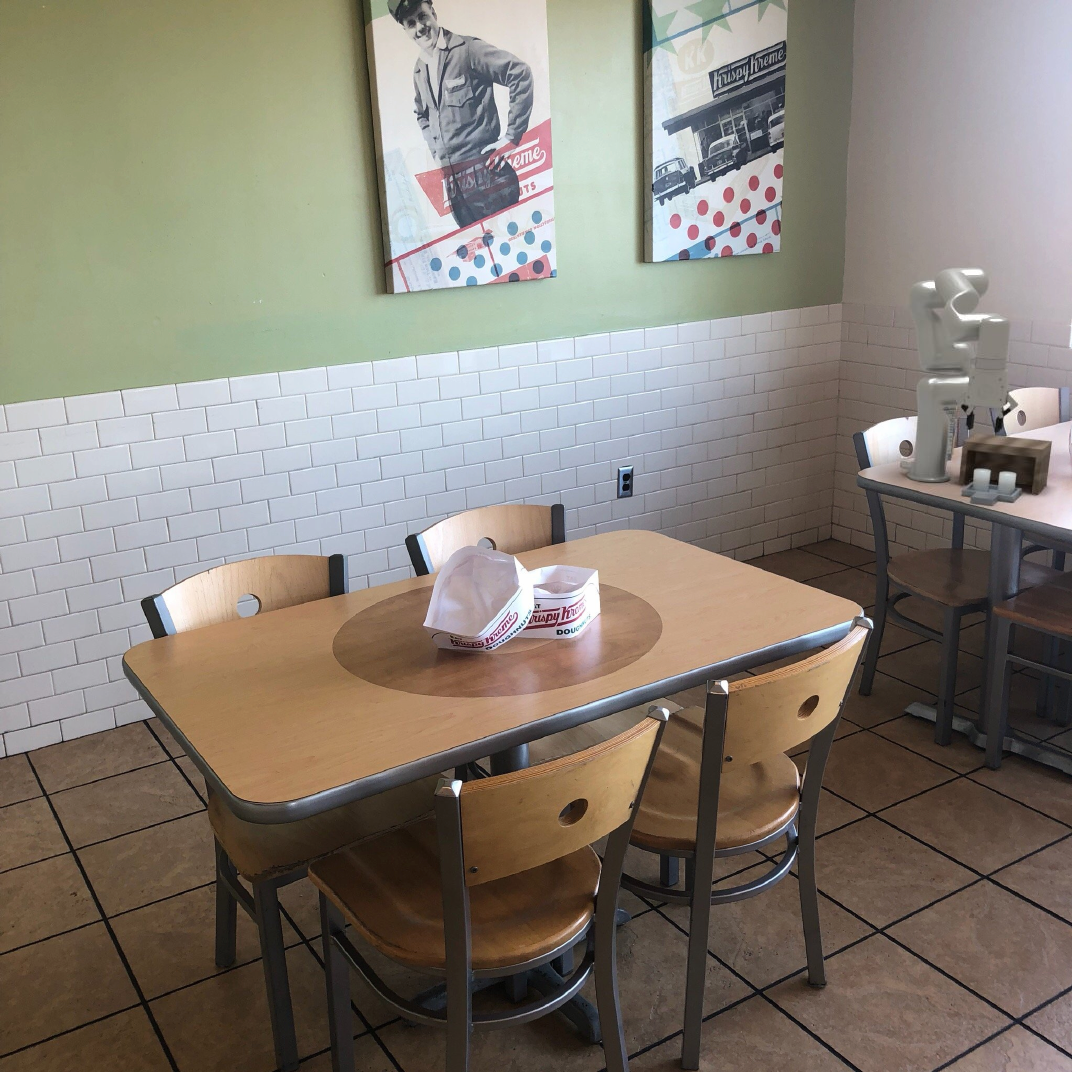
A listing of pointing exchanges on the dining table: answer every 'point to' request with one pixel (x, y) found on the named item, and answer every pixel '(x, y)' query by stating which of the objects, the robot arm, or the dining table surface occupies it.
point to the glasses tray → (992, 488)
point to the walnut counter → (1006, 459)
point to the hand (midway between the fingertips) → (983, 429)
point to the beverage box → (951, 428)
